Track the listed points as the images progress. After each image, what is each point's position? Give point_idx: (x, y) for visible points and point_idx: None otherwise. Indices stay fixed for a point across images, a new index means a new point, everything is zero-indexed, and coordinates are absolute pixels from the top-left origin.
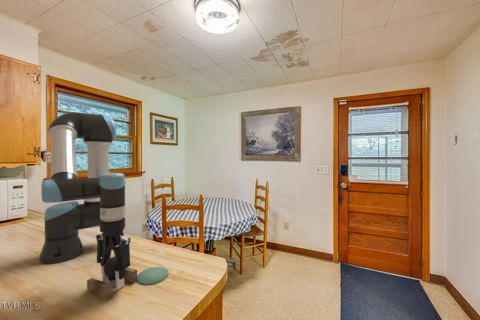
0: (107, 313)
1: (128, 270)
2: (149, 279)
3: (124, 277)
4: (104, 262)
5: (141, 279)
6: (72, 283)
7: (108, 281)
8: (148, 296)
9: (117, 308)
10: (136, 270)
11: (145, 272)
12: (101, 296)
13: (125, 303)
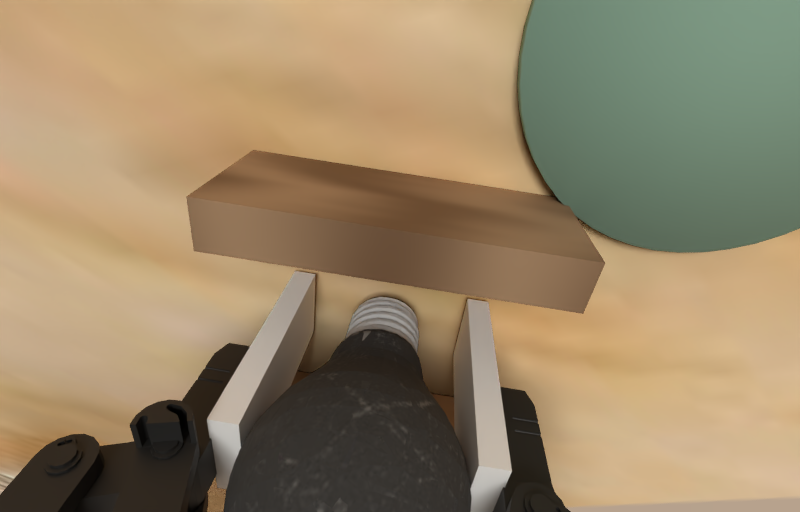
0: (566, 498)
1: (483, 297)
2: (734, 180)
3: (523, 391)
4: (188, 507)
5: (625, 199)
6: (42, 327)
7: (311, 307)
8: (793, 368)
9: (601, 470)
10: (598, 271)
11: (601, 35)
12: None
13: (630, 437)
